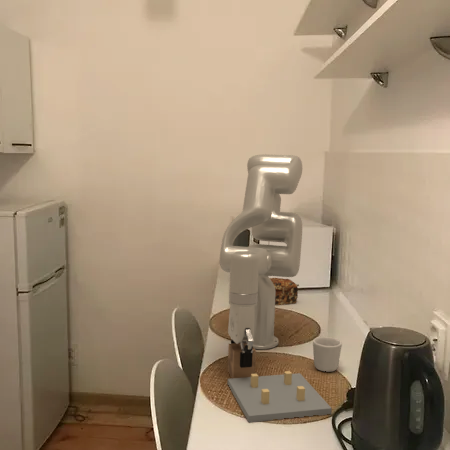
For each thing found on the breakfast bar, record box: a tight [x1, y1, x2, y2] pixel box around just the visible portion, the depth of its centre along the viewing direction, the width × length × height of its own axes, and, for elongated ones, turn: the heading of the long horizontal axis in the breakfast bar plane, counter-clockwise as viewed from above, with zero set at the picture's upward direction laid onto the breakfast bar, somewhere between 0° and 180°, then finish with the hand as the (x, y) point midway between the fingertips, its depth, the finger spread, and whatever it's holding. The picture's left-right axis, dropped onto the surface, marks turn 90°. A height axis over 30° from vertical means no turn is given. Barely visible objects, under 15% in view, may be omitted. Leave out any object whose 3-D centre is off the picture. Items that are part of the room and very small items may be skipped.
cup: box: [312, 336, 343, 373], centre depth 150 cm, size 11×8×8 cm
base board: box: [227, 370, 333, 423], centre depth 130 cm, size 20×20×4 cm
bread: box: [269, 277, 299, 306], centre depth 215 cm, size 19×11×10 cm, turn 108°
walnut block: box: [227, 343, 257, 378], centre depth 143 cm, size 6×6×8 cm
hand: (240, 360), depth 143 cm, fingers open, 9 cm apart
